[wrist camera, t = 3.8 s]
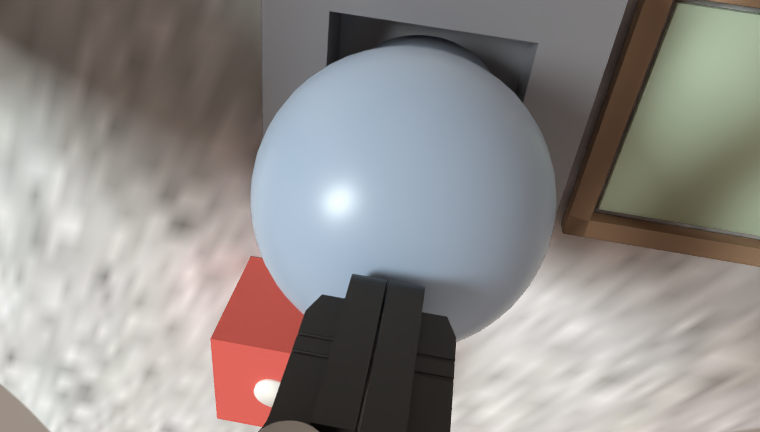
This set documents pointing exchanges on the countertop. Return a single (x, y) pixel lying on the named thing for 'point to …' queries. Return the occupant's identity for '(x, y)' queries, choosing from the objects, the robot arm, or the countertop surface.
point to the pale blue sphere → (406, 183)
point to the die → (252, 346)
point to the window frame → (679, 136)
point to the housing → (472, 31)
